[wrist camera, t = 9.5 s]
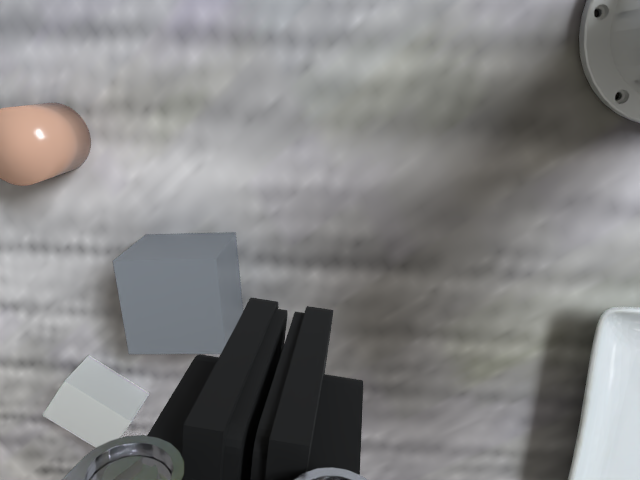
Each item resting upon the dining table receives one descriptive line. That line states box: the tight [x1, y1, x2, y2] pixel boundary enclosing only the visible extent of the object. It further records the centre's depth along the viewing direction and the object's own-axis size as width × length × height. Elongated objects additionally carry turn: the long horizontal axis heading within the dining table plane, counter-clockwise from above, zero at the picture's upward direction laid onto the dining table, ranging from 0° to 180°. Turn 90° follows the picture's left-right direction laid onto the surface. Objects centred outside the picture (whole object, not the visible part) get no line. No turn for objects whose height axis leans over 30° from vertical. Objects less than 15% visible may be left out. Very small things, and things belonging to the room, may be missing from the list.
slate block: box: [113, 232, 243, 354], centre depth 39 cm, size 7×7×6 cm
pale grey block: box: [42, 355, 150, 448], centre depth 44 cm, size 6×4×4 cm, turn 54°
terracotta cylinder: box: [0, 103, 91, 186], centre depth 37 cm, size 5×5×5 cm
